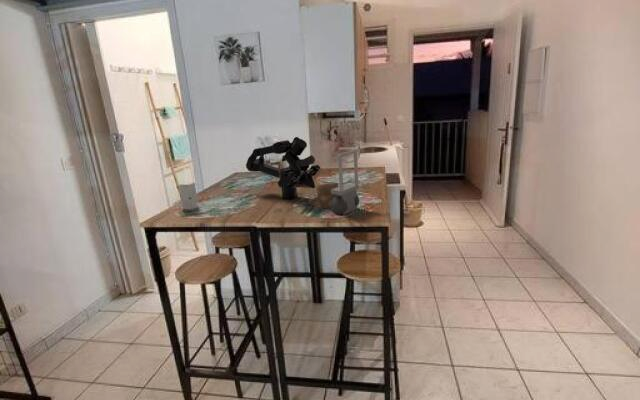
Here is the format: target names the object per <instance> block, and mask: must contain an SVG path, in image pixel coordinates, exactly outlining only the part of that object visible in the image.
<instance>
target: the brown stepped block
mask: <svg viewBox="0 0 640 400" xmlns="http://www.w3.org/2000/svg"><path fill="white" fill-rule="evenodd" d="M337 187H339V182H334V181H330V182H327V183H324V184H321V185H319V186H316V195H317V196H315V197H314V198H310V199H309V206H314V207H318V208H319V207H320V208H324V209H329V210H332V209H331V201H332V199H333V198H336V197H339V195H336V194H331V190H332V189H334V188H337Z"/></svg>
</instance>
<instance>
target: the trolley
mask: <svg viewBox="0 0 640 400" xmlns="http://www.w3.org/2000/svg"><path fill="white" fill-rule="evenodd" d="M350 155H353V169H354V171H353V172H354V173H353V175H354V183H353V184H352V183H345V184H344V178H343V177H344V175H343V159H342V158H343V157H346V156H350ZM337 162H338V163H337V164H338V179H339V180H338V181H339V182H338V187H337V188H334V189H332V190H331V194H336V195H339V197H336V198H333V199H332V201H331V209H330V210H331V211H332V212H333V214H336V215H342V214H343V216H345V214H346V215H347V213H348V214H349V212H350V213H352V212H354V211H356V210H357V209H358V206H359V204H360V198H359V195H358V194H357V190H358V189H359V168H358V167H359V166H358V165H359V164H358V151H357V149H352V150H349V151H346V152H341V153H338V155H337ZM353 210H354V211H353ZM351 211H352V212H351Z"/></svg>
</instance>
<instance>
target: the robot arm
mask: <svg viewBox="0 0 640 400" xmlns="http://www.w3.org/2000/svg"><path fill="white" fill-rule="evenodd" d="M307 146H308V143H307V141H306V140H304V139H302V138H299V137H298V136H295V137H294V138H293V139H292V141H291V142H290V140H288V139H287V140H281V141H276V142H275V143H273V144H272V145H268V146H264V147H258V148H257V147H256V148H254V149H253V151H252V153H251V154H250V156H249V157H248V158H247V160H246V164H245V167H246V169H247V171H248V172H252V173H254V172H255V173H257V172H258V173H259V172H261V173H263V174H266V175H269V176H271V177H275V178H277V179H279V180H278V181H277V185H278V187H279V188H281V197H280V200H281V199H283V200H293V199H295V198H297V197H298V196H299V195H298V190H297V188H298V187H296V186H295V184H298V182H300V183H303V184H302V185H304V186H308V187H309V188H311V189H315V188H316V185H315V182H314V177H315V176H316V175H317V174H318V173H319V171H320V170H321V166H320V165H319V164H315V162H316V159H315V158H316V157H315V156H314V155H309V156H307V157H305V158H300V157H299V156H301V155H302V154H303V153H304V151H305V150H306V148H307ZM270 154H277V155H282V154H284V155H282V156H281V157H282V158H281V162H286V163H287V164H288V166H287V167H286V166H285V167H284V168H279V167H277V166H273V165H271V164H267V163H265V155H270ZM289 165H290V167H291V168H290V167H289ZM298 179H299V180H298Z"/></svg>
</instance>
